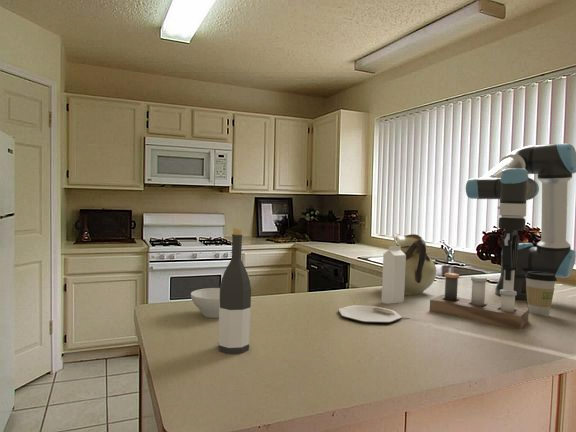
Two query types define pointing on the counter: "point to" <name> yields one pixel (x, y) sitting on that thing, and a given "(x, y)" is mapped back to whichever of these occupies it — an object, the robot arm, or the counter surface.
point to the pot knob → (451, 286)
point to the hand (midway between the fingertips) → (508, 290)
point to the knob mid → (478, 290)
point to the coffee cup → (539, 291)
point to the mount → (480, 312)
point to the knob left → (507, 300)
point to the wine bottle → (234, 303)
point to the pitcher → (416, 264)
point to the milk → (393, 275)
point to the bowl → (207, 301)
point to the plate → (368, 314)
